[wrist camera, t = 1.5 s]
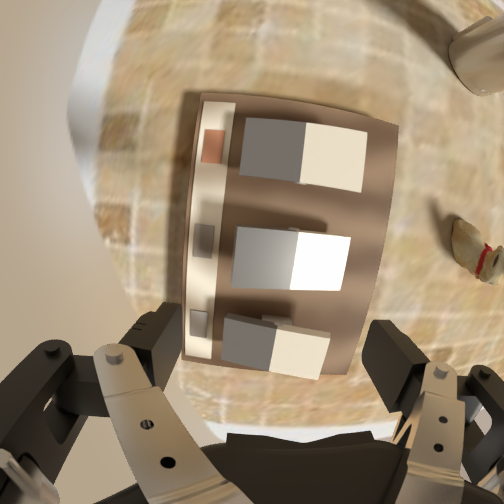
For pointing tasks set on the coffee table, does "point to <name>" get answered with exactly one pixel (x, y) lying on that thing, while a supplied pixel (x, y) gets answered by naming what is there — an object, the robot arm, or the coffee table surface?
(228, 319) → the rocker
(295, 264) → the rocker mid
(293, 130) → the rocker
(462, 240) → the chocolate bunny
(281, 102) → the switch console
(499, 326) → the coffee table surface
